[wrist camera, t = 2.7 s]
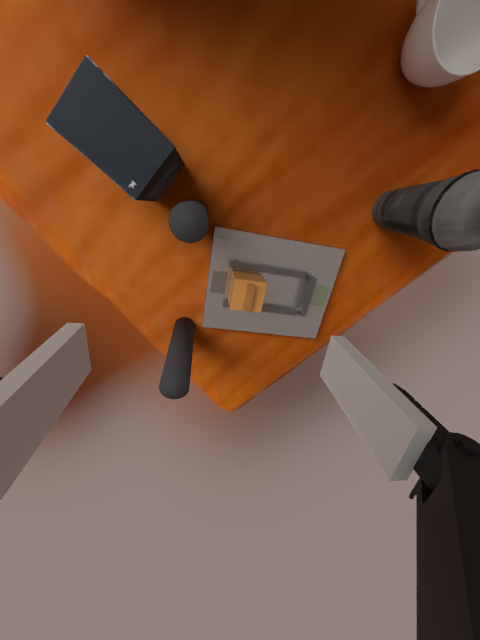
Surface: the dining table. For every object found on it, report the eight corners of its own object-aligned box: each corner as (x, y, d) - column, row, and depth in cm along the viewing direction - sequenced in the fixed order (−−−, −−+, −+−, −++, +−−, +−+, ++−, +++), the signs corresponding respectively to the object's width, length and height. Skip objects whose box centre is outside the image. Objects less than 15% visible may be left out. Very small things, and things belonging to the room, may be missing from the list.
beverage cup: (357, 194, 33) (532, 188, 15) (410, 168, 33) (657, 129, 15) (368, 245, 37) (524, 290, 19) (416, 222, 36) (627, 245, 18)
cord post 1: (182, 224, 32) (167, 239, 20) (184, 198, 31) (170, 197, 19) (206, 228, 33) (206, 245, 20) (209, 203, 32) (210, 205, 19)
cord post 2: (174, 334, 39) (158, 398, 26) (175, 316, 38) (159, 374, 25) (193, 336, 39) (187, 399, 27) (195, 318, 38) (190, 376, 26)
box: (186, 164, 30) (176, 147, 20) (156, 202, 31) (134, 203, 22) (127, 102, 27) (83, 49, 17) (97, 147, 28) (41, 121, 19)
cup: (392, 115, 30) (439, 93, 24) (371, 5, 26) (422, -55, 20) (455, 77, 29) (520, 45, 23) (445, -43, 25) (521, -121, 19)
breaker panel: (202, 322, 39) (201, 331, 36) (214, 225, 33) (215, 227, 30) (312, 334, 42) (319, 343, 39) (340, 247, 36) (351, 251, 33)
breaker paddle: (227, 298, 35) (230, 311, 31) (232, 270, 34) (236, 280, 30) (255, 301, 36) (261, 315, 32) (261, 274, 35) (268, 285, 30)
